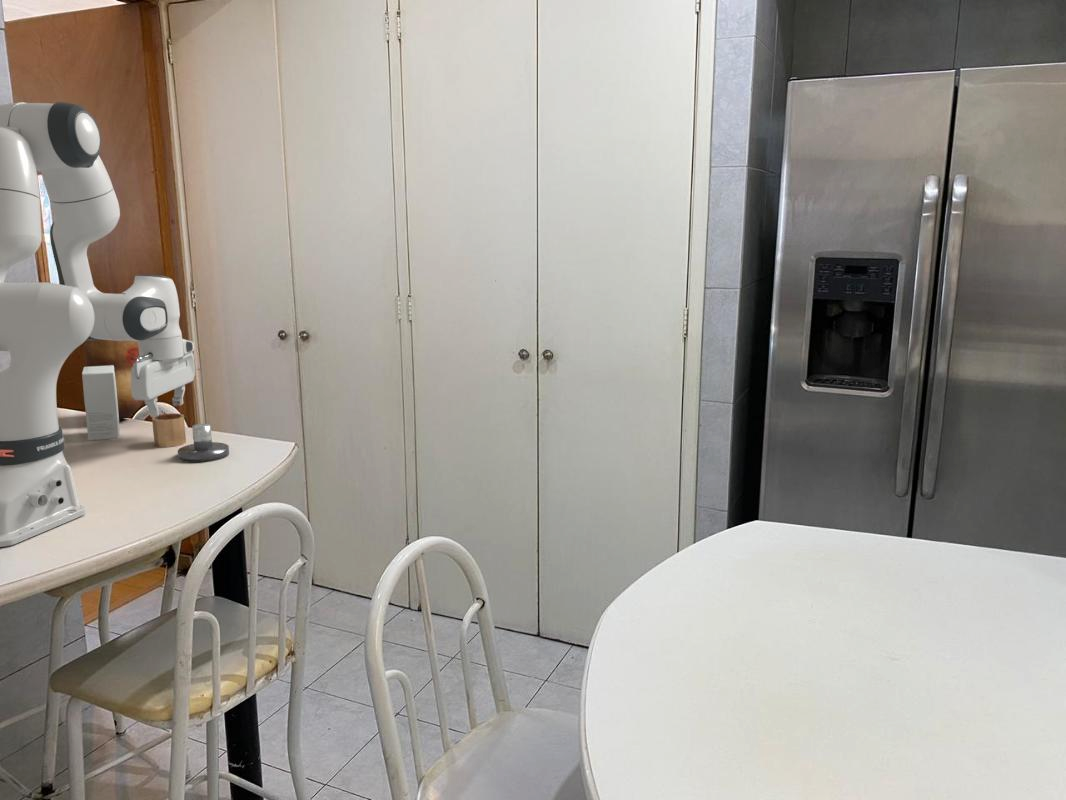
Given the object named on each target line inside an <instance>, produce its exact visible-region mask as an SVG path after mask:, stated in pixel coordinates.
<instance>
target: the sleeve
mask: <svg viewBox="0 0 1066 800" xmlns="http://www.w3.org/2000/svg"><path fill="white" fill-rule="evenodd" d="M151 422H152V431H153V441H154V442H153V443H154V446H155V447H158V448H169V447H177V446H181V445H184V444H186V443H187V438H186V437H187V435H186V426H185V415H184V414H182V413H176V412H174V413H171V412H170V413H163V414H162V413H161V415H159V416H158V417H151Z"/></svg>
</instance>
